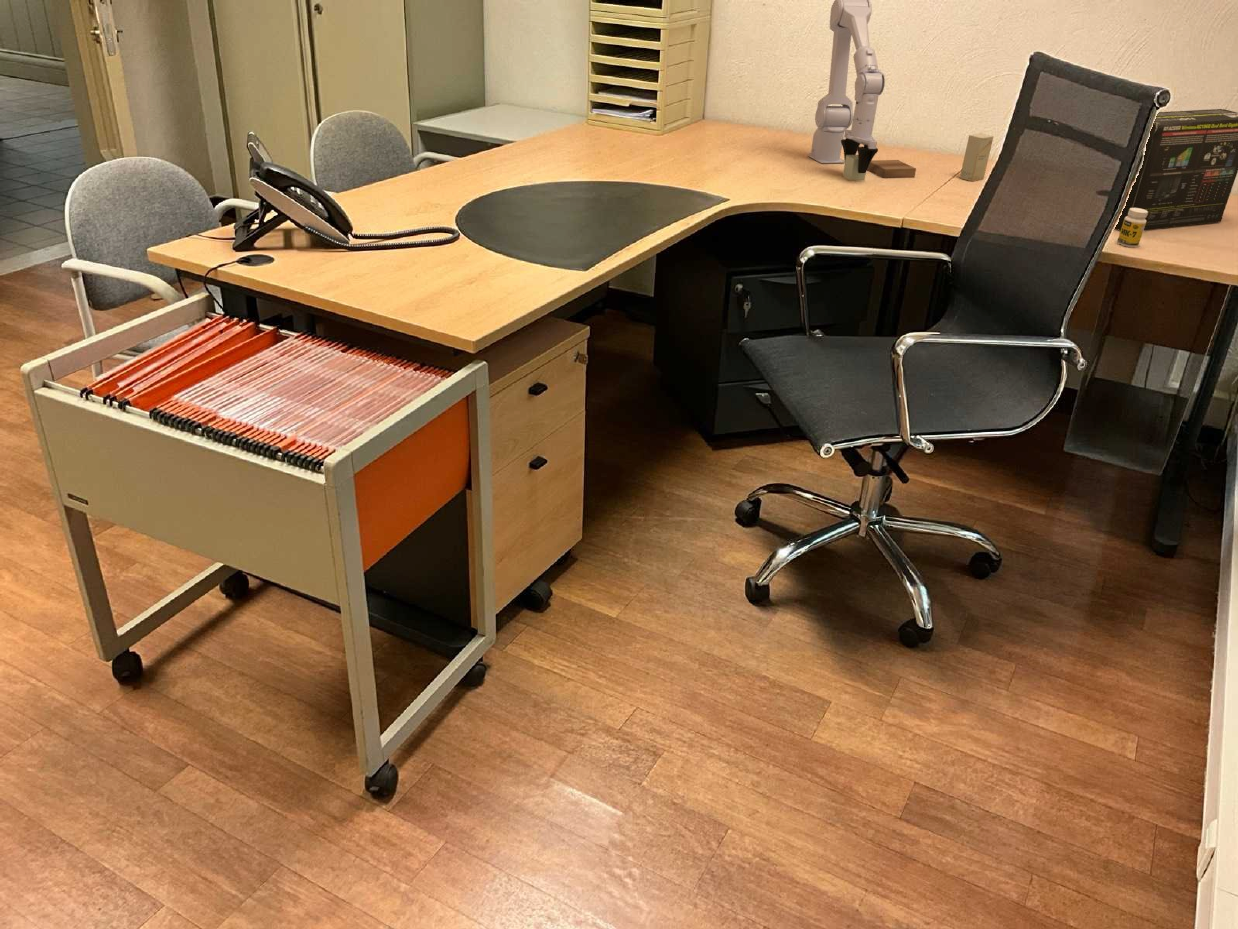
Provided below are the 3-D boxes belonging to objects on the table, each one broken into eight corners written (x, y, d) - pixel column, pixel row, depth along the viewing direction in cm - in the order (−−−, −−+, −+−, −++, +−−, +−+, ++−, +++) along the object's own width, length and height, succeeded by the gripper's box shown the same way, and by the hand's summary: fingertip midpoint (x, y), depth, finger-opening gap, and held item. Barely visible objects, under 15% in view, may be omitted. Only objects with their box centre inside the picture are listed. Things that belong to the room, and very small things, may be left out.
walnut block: (865, 170, 288) (867, 160, 286) (896, 170, 290) (898, 159, 289) (883, 179, 279) (885, 169, 278) (914, 179, 282) (916, 168, 281)
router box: (1186, 210, 266) (1222, 107, 252) (1222, 223, 257) (1261, 116, 243) (1088, 220, 253) (1120, 111, 239) (1122, 233, 244) (1158, 121, 230)
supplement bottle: (1113, 243, 236) (1124, 209, 232) (1121, 240, 239) (1132, 205, 235) (1133, 249, 233) (1145, 214, 229) (1141, 245, 236) (1152, 210, 232)
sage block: (842, 176, 279) (846, 154, 276) (856, 176, 280) (860, 154, 277) (850, 180, 275) (853, 158, 272) (864, 180, 276) (868, 158, 273)
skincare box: (971, 181, 281) (982, 138, 275) (958, 178, 284) (968, 134, 278) (984, 179, 284) (994, 135, 278) (971, 175, 287) (980, 132, 281)
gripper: (838, 113, 274) (830, 163, 281) (863, 124, 262) (854, 176, 269) (860, 113, 276) (852, 162, 283) (887, 124, 264) (877, 175, 271)
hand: (855, 169), depth 276 cm, fingers open, 7 cm apart
